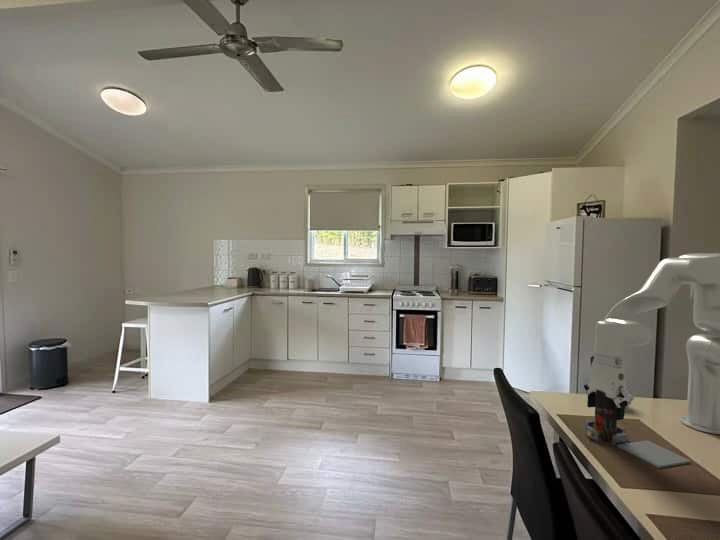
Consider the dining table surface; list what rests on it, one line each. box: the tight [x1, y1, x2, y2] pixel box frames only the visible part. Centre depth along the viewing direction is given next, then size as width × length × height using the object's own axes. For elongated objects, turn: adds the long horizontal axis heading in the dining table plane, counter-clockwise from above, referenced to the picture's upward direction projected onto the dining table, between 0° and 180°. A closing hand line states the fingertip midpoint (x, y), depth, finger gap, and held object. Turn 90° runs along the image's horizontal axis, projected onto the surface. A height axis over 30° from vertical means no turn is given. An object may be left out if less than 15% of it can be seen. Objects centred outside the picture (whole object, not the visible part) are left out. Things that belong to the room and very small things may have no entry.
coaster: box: [616, 439, 691, 469], centre depth 110 cm, size 12×12×1 cm
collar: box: [584, 419, 628, 447], centre depth 120 cm, size 13×11×3 cm
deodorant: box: [594, 390, 618, 442], centre depth 120 cm, size 6×6×15 cm
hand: (604, 412), depth 120 cm, fingers open, 9 cm apart
